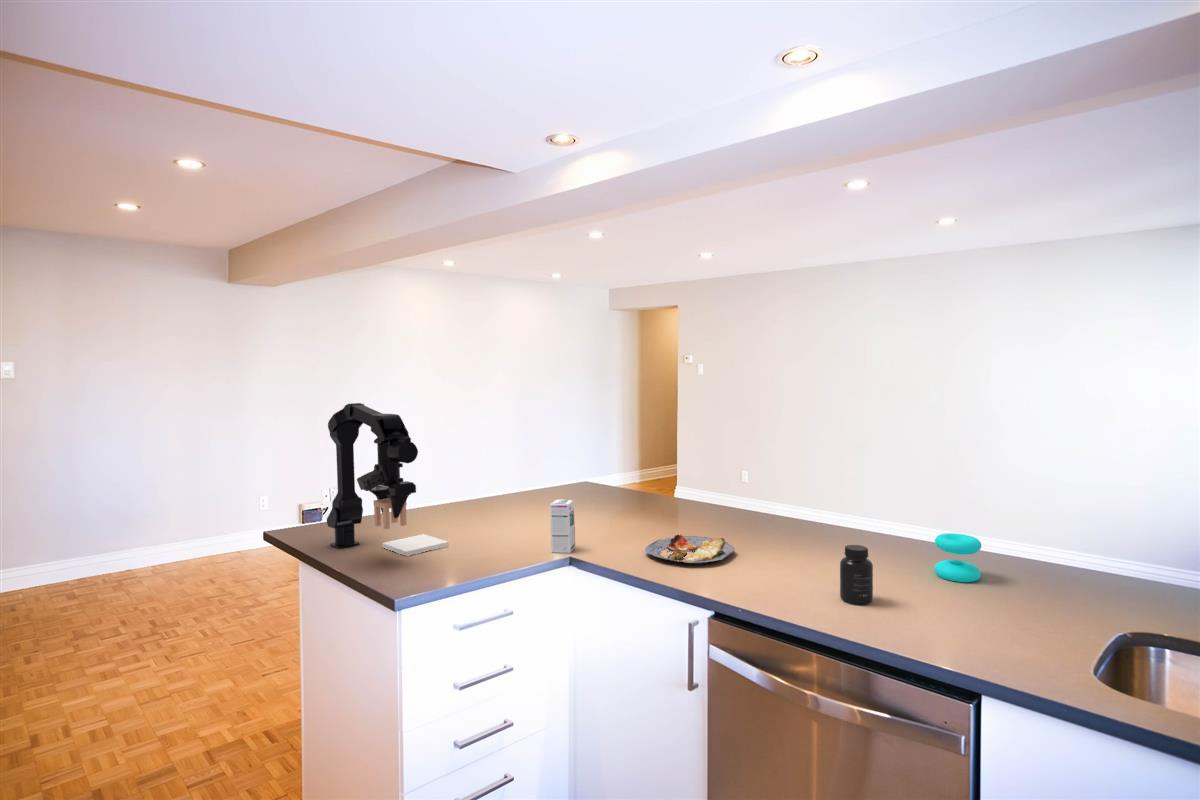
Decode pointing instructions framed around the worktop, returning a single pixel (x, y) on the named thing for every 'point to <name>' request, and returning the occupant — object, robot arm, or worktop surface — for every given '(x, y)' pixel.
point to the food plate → (691, 549)
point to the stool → (387, 513)
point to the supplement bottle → (856, 576)
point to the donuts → (957, 568)
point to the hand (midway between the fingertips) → (390, 516)
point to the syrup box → (562, 526)
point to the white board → (415, 544)
